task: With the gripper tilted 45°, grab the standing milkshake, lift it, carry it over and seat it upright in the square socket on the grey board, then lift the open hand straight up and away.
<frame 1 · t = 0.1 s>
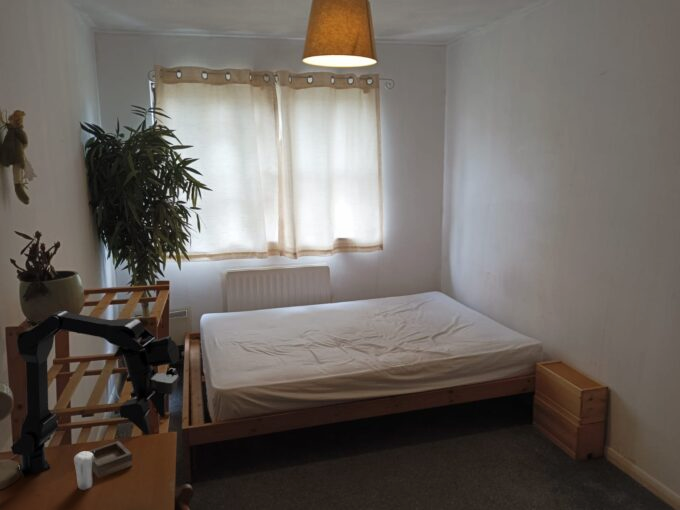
hand: (155, 425, 138), 15 cm above the table, tool pointing down, fingers open, 9 cm apart
socket board: (109, 464, 146), on the table
milkshake: (86, 487, 137), on the table
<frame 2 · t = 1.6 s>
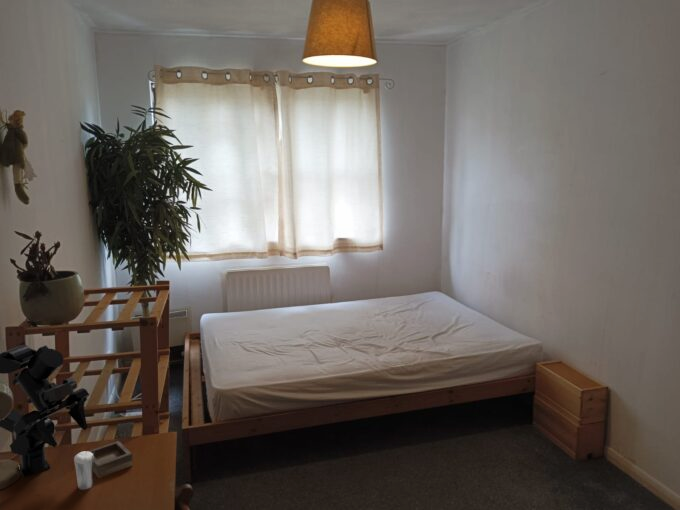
hand: (71, 437, 136), 12 cm above the table, tool tilted 45°, fingers open, 9 cm apart
nothing on the table moved.
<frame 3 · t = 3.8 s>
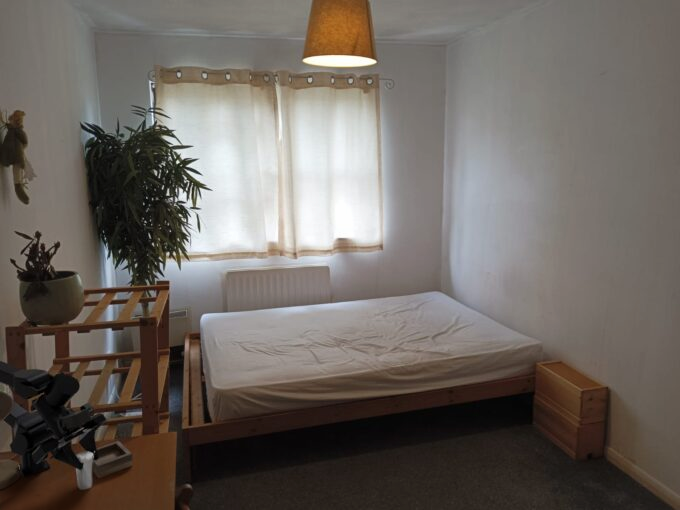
hand: (89, 464, 135), 7 cm above the table, tool tilted 45°, fingers closed on milkshake, 4 cm apart
milkshake: (86, 486, 137), on the table, touching gripper
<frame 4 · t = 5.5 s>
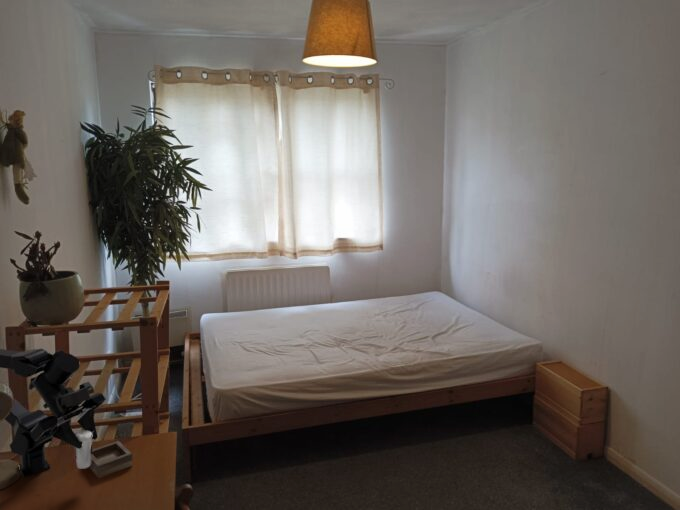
hand: (88, 443, 134), 12 cm above the table, tool tilted 45°, fingers closed on milkshake, 4 cm apart
milkshake: (85, 466, 136), point 6 cm above the table, touching gripper
when the fingers open (9 cm above the table, at t = 7.4 s): milkshake drops 1 cm, resting on socket board.
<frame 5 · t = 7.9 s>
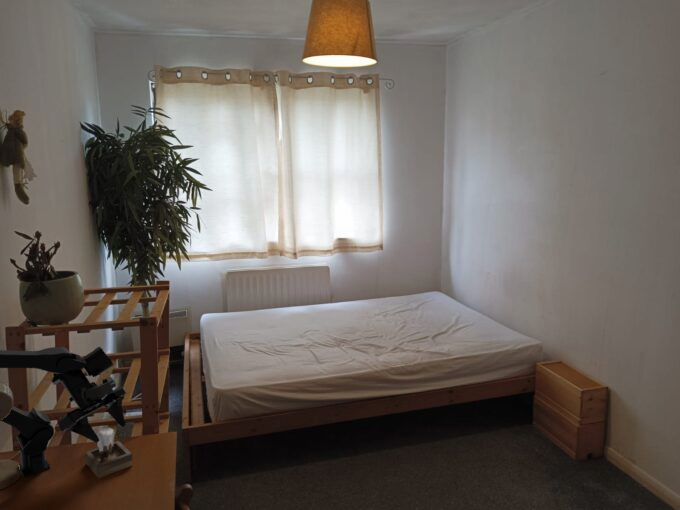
hand: (111, 433, 144), 10 cm above the table, tool tilted 45°, fingers open, 9 cm apart
milkshake: (107, 461, 146), point 1 cm above the table, touching socket board
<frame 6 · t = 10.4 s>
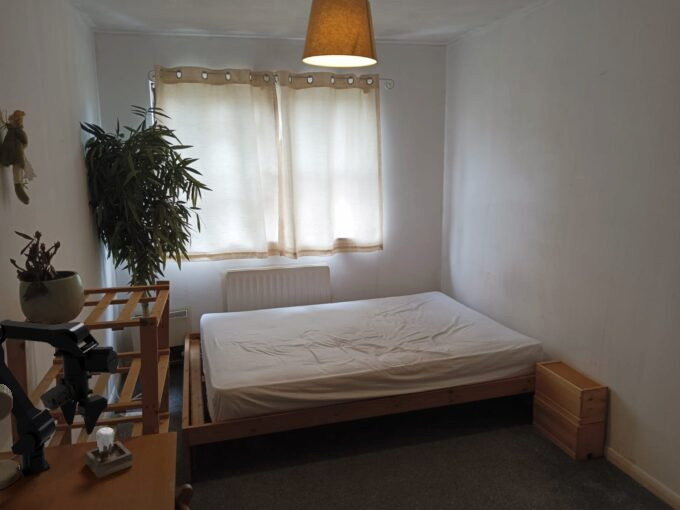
hand: (79, 429, 139), 13 cm above the table, tool pointing down, fingers open, 9 cm apart
nothing on the table moved.
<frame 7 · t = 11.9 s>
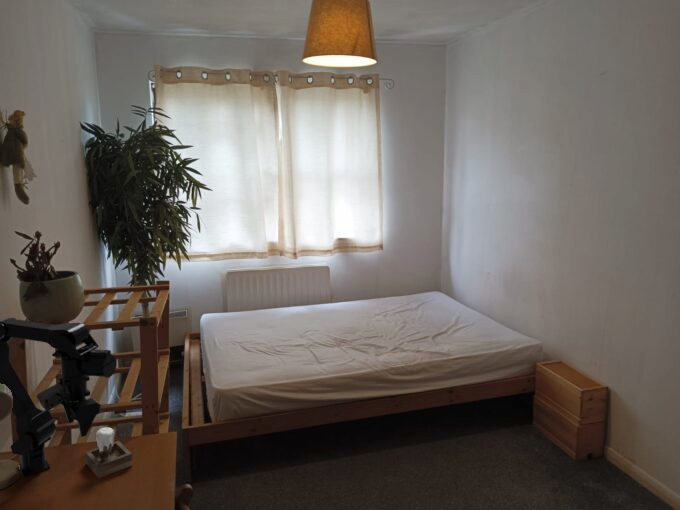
hand: (77, 429, 139), 13 cm above the table, tool pointing down, fingers open, 9 cm apart
nothing on the table moved.
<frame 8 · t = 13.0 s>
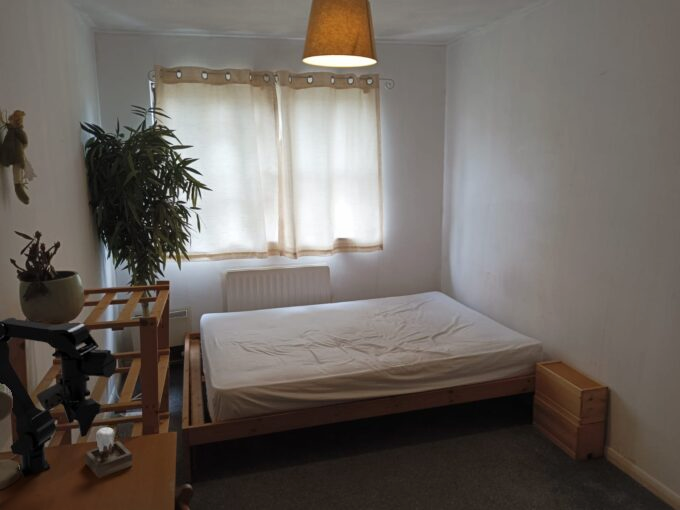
hand: (77, 429, 139), 13 cm above the table, tool pointing down, fingers open, 9 cm apart
nothing on the table moved.
at the end: milkshake 0.4 cm off-centre on the socket board, point 1.3 cm above the socket board's base; milkshake tilted 0°; the gripper is holding nothing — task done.
